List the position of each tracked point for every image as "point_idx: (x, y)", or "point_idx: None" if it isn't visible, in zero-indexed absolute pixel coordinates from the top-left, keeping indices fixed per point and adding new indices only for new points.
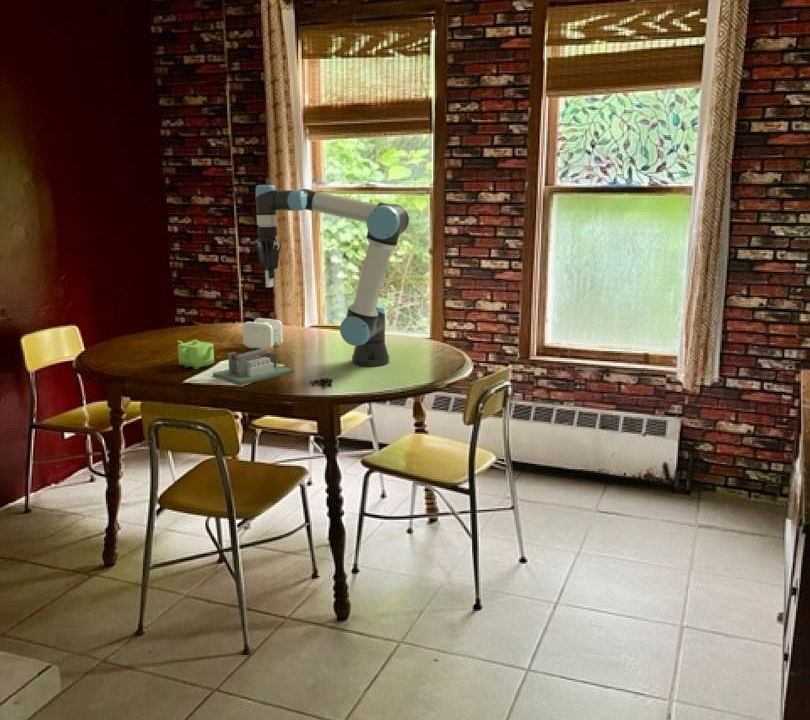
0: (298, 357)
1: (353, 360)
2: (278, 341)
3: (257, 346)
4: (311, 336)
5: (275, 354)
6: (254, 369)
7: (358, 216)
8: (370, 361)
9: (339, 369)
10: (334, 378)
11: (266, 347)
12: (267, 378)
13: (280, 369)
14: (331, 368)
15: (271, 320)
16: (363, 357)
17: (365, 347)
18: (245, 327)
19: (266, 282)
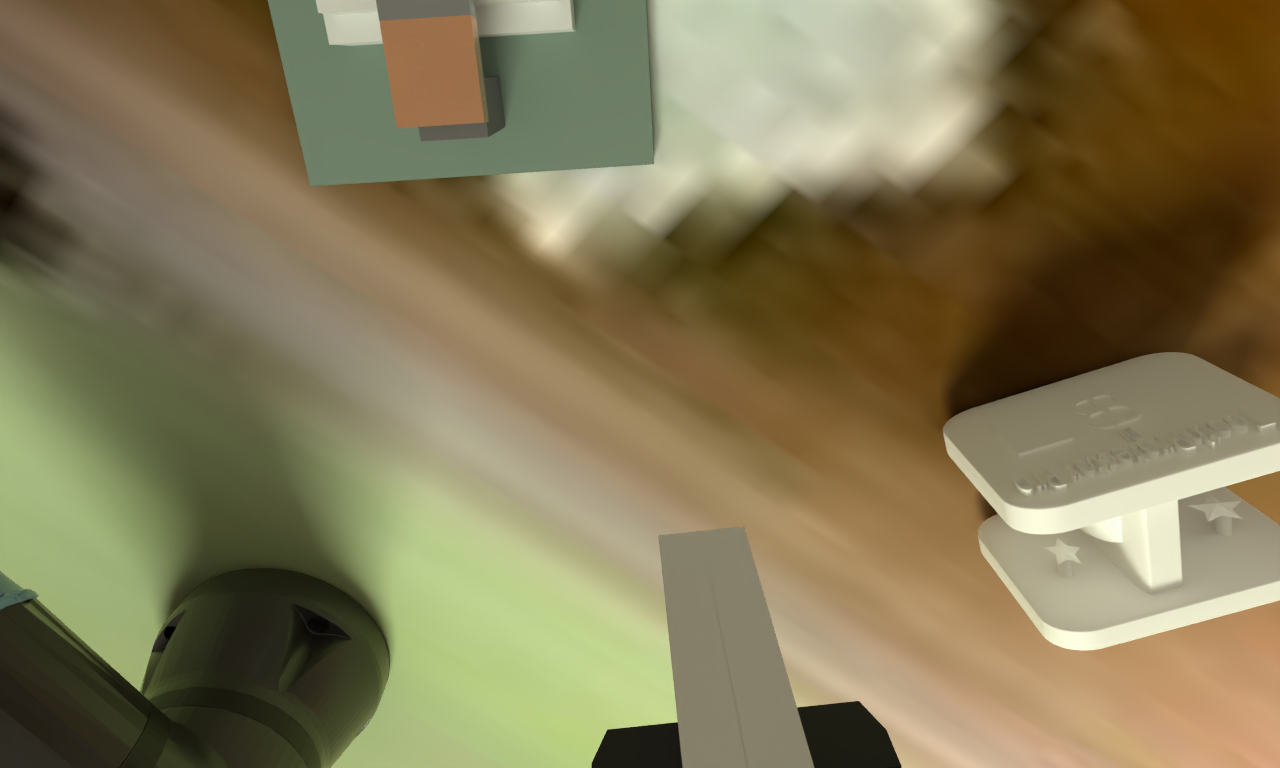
0: (655, 442)
1: (285, 584)
2: (997, 531)
3: (1053, 387)
4: (1016, 761)
5: (423, 138)
6: None
7: None
8: (167, 620)
9: (223, 445)
10: (23, 293)
11: (467, 87)
12: None
13: (363, 112)
14: (274, 426)
15: (1143, 614)
16: (191, 616)
17: (164, 677)
18: (1257, 412)
19: (737, 598)
